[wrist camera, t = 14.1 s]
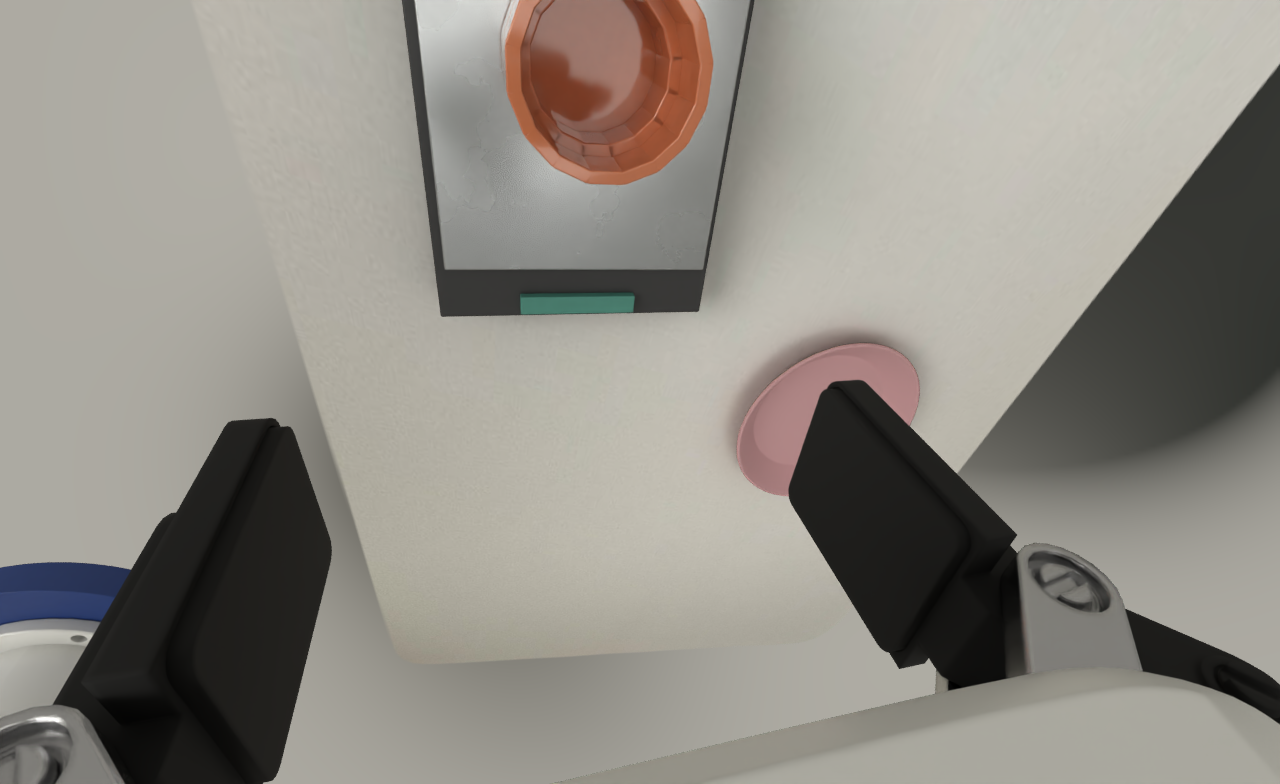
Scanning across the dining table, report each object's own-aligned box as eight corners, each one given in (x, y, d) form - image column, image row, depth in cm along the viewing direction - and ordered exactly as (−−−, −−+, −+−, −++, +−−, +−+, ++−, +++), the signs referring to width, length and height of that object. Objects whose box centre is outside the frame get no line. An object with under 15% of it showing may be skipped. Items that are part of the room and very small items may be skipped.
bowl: (504, 148, 24) (509, 181, 20) (496, -64, 20) (500, -74, 16) (662, 155, 25) (695, 188, 21) (684, -37, 21) (730, -40, 17)
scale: (443, 296, 30) (440, 324, 28) (356, -446, 16) (333, -522, 14) (686, 293, 34) (703, 318, 31) (786, -324, 20) (831, -367, 17)
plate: (689, 434, 41) (697, 452, 39) (841, 291, 36) (858, 305, 35) (798, 501, 48) (808, 518, 47) (934, 390, 44) (951, 405, 42)
